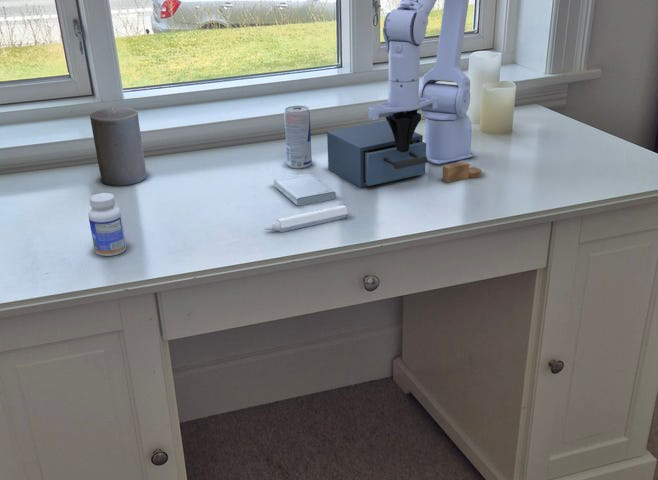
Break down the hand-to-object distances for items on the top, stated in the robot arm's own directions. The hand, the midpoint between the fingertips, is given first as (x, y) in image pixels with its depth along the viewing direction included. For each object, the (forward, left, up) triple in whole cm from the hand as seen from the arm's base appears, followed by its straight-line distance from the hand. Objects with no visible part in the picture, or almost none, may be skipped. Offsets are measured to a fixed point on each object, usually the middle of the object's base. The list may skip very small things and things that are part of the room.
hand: (402, 150), depth 161 cm
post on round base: (-13, +2, -7) cm, 15 cm away
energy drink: (+11, -24, -7) cm, 27 cm away
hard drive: (+18, -8, -8) cm, 21 cm away
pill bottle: (+59, -1, -8) cm, 59 cm away
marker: (+25, +8, -8) cm, 28 cm away
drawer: (0, -5, -6) cm, 8 cm away
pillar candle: (+46, -37, -8) cm, 59 cm away
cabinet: (0, -11, -7) cm, 13 cm away
